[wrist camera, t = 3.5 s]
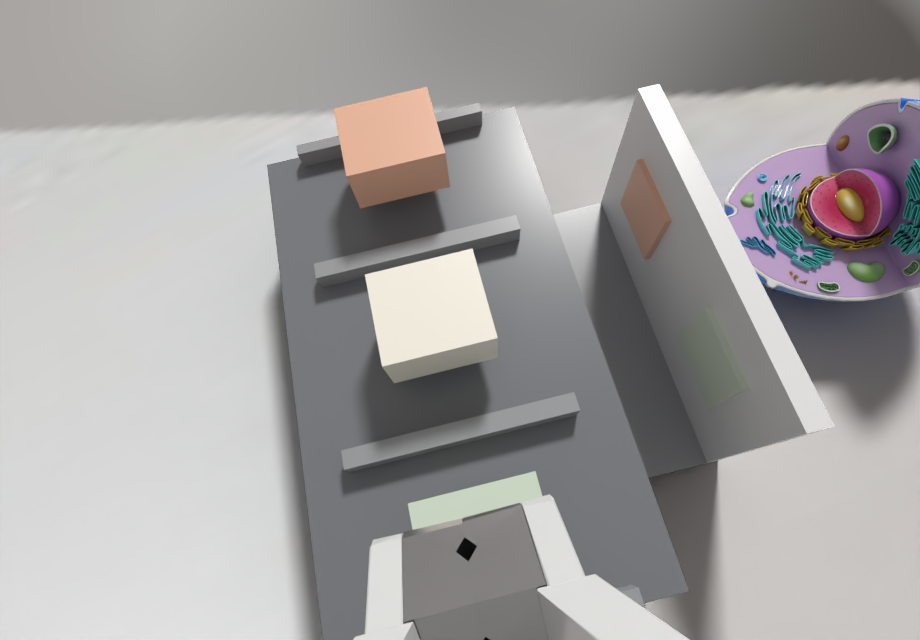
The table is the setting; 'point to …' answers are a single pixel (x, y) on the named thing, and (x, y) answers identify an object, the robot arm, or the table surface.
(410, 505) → the sage key
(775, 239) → the cell model
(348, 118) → the terracotta key
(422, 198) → the key console
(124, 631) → the table surface
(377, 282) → the cream key
